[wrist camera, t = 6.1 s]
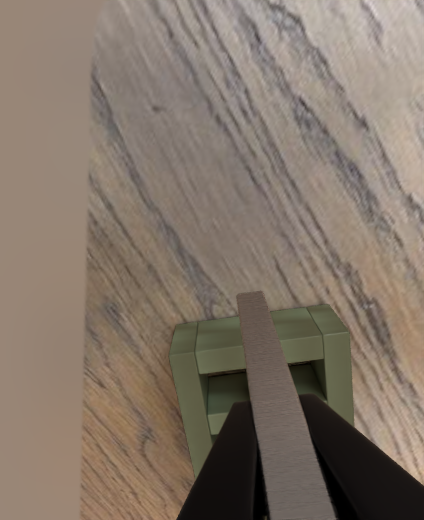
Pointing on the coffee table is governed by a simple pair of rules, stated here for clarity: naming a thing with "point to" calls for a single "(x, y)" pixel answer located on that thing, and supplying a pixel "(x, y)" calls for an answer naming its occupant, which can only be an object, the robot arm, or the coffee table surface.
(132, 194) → the coffee table surface
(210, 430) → the rack
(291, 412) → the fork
